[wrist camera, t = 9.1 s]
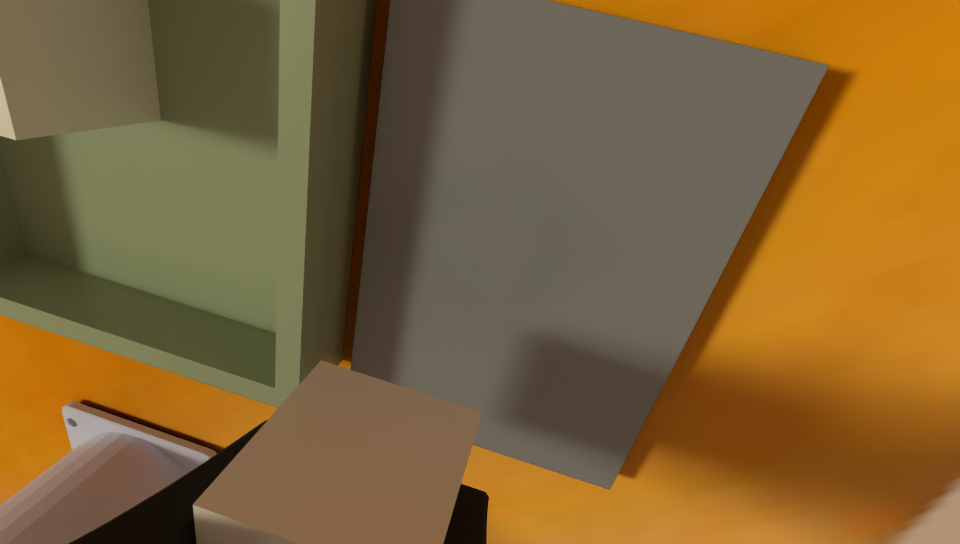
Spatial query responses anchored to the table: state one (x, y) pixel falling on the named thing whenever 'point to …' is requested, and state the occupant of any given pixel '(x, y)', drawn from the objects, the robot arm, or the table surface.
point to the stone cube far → (75, 66)
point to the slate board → (558, 212)
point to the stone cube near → (343, 468)
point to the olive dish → (205, 200)
